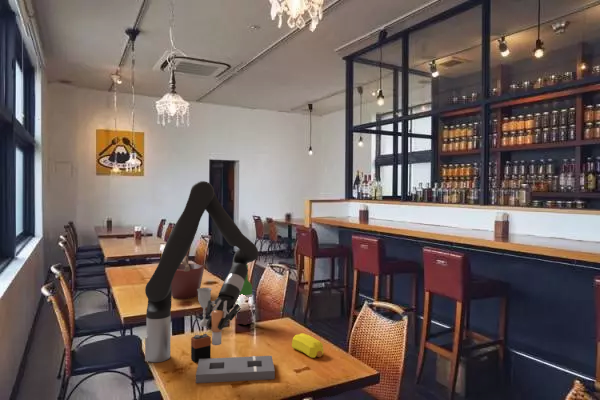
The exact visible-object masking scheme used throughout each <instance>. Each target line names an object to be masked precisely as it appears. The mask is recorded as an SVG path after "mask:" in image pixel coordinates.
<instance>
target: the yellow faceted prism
mask: <svg viewBox="0 0 600 400" xmlns="http://www.w3.org/2000/svg"><path fill="white" fill-rule="evenodd" d="M291 347H292V349H293V350H296V351H298V352H301V353H302V354H303V353H304V354H305V355H307V357H308V358H309V357H310V358H311V359H313V358H321V357H322V356H324V345H323V343H322V342H321V341H320V340H318V339H316V338H315V337H313V336H312V335H309V334H306V333H303V332H301V333H299V334H295V335H294V336H293V338H292V341H291Z"/></svg>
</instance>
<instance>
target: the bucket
mask: <svg viewBox="0 0 600 400" xmlns="http://www.w3.org/2000/svg"><path fill="white" fill-rule="evenodd" d="M204 271H205V265H203V264H198V263H189V257H188V255H186V256H185V258H184V259H183V261H182V262H181V264H180V266H179V267H178V269H177V270H176V272H175V275H174V277H173V280H172V283H171V285H172V298H173V299H175V298H178V299H177V300H187V299H188V298H189V299H195V298H194V297H196V298H198V290H197V289H199V288H201V286H202V281H203V276H204Z"/></svg>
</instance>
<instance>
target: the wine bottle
mask: <svg viewBox="0 0 600 400" xmlns="http://www.w3.org/2000/svg"><path fill="white" fill-rule="evenodd" d="M246 267H247V268H248V269H249V265H248V264H247V265H246ZM241 294H243V295H245V296H246V297H248V298H249V297H252V298H253V285H252V282H250V281H249V275H248V274H247V276H246V279H245V281H244V284H243V287H242V290H241V292H240V294H239V295H241Z"/></svg>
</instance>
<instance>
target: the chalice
mask: <svg viewBox="0 0 600 400" xmlns="http://www.w3.org/2000/svg"><path fill="white" fill-rule="evenodd" d="M197 290H198V296H197V298H198V299H197V300H198V303H199V305H200V307H201V308H202V310H203V311H202V313H203V314H202V317H203V318H202V319H201V320H200V322H199V324H198V326H199V327H204V328H205V327H208V326H207V321H208V319H206V316H207V314H206V312H207V310H206V309H207V305H208V301H209V300H211V297H212V295H211V293H212V290H213V289H212V288H210V287H200V288H199V289H197Z"/></svg>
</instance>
